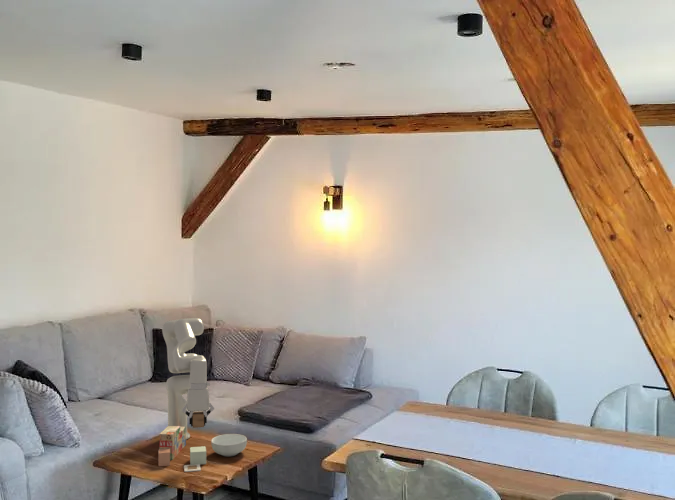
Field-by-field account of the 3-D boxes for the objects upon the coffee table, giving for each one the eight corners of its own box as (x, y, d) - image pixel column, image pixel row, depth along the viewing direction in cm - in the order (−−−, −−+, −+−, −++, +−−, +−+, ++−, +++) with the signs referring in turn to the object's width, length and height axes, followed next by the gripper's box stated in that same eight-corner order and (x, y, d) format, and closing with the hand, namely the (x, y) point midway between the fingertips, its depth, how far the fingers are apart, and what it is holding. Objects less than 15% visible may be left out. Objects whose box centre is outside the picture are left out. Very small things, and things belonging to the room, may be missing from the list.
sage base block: (189, 460, 304) (190, 447, 304) (205, 459, 306) (205, 446, 306) (190, 465, 298) (190, 452, 297) (206, 464, 299) (206, 451, 299)
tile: (183, 466, 296) (183, 464, 296) (199, 465, 298) (199, 463, 298) (184, 472, 289) (184, 470, 289) (200, 470, 291) (200, 469, 291)
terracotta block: (158, 462, 301) (158, 449, 300) (169, 461, 302) (169, 448, 302) (158, 466, 296) (158, 453, 296) (169, 465, 297) (170, 452, 297)
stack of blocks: (173, 444, 326) (173, 420, 325) (186, 445, 325) (186, 420, 325) (159, 459, 304) (159, 433, 304) (172, 460, 304) (172, 433, 304)
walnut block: (192, 424, 303) (192, 411, 303) (203, 424, 304) (203, 411, 304) (192, 427, 298) (192, 414, 298) (204, 427, 299) (204, 414, 299)
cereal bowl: (222, 446, 324) (222, 431, 324) (252, 450, 319) (252, 435, 319) (204, 457, 308) (204, 442, 308) (236, 461, 303) (236, 446, 303)
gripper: (216, 383, 307) (216, 421, 307) (178, 384, 302) (178, 424, 303) (217, 386, 299) (217, 426, 300) (179, 388, 295) (179, 429, 295)
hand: (198, 424), depth 301 cm, fingers closed on walnut block, 5 cm apart
